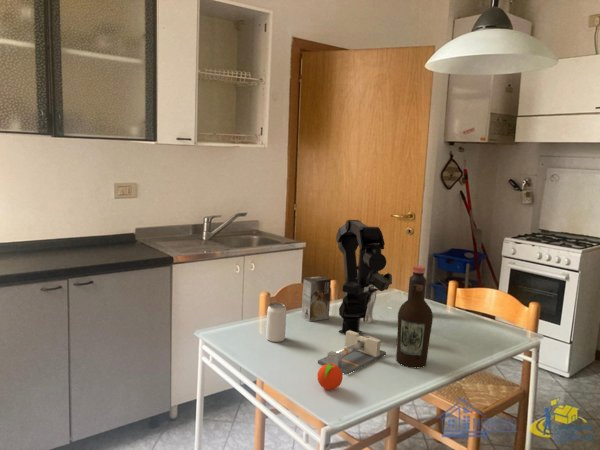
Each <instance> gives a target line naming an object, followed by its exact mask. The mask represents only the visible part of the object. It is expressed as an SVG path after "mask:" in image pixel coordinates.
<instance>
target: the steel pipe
mask: <svg viewBox="0 0 600 450" xmlns="http://www.w3.org/2000/svg"><path fill="white" fill-rule="evenodd" d="M363 337H366V338H370V337H372V338H375V339H378V338H377V337H374V336H371V335H365V336H363ZM378 340H379V339H378ZM364 344H365V342H363V341H361V342H359V343H356V344H354V345H352V346H350V347H345V349H344V348H343V349H342V348H341V351H340V350H338V351H339V352H338V351H336V352H335V351H334V350H330V351H328V352H327V356H326V357H327V364H328V363H331V364H335V365H336V366H338V367H341V366H342V357H344V356H347V355H348V354H350V353H352V352H355V351H357V350H359V349H361V348H363V347H364Z"/></svg>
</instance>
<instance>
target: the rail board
mask: <svg viewBox="0 0 600 450" xmlns="http://www.w3.org/2000/svg"><path fill="white" fill-rule="evenodd" d="M345 348H346V347H345ZM345 348H343V349H345ZM341 350H342V349H341ZM341 350H338V351H337V352H339V351H341ZM386 354H387V351H384V350H381V349H380V355H379V356H378V357H374V356H371V355H368V354H366V353H363V352H360V351H355V352H352V353H350V354H348V355H347V356H344V357H342V366H341V367H339V368H340V370H341V372H342V374H343V373H344V374H343V375H345V374H349V373H351V372H352V373H354V372H356V371H358V370H361V369H362V368H364V367H366V366H368V365H369V363H370V364H372V363H374V362H375V361H377V360H379V359H381V358H383V357H384V355H385V356H387V355H386ZM317 364H318V365H320V366H323V365H325V364H327V356H325V357H322V358H320V359H318V360H317ZM361 367H362V368H361ZM353 371H354V372H353ZM352 373H351V374H352ZM349 375H350V374H349Z"/></svg>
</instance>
